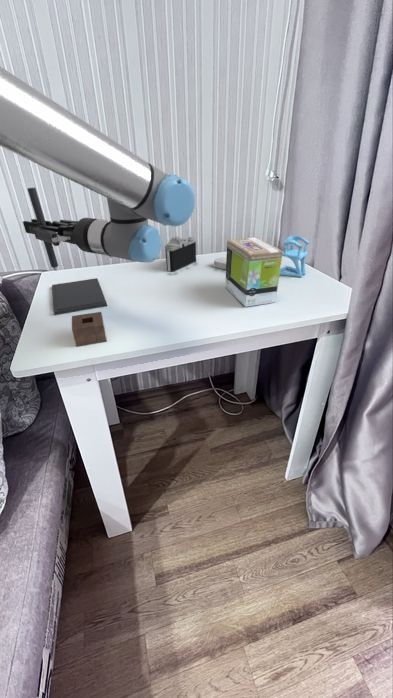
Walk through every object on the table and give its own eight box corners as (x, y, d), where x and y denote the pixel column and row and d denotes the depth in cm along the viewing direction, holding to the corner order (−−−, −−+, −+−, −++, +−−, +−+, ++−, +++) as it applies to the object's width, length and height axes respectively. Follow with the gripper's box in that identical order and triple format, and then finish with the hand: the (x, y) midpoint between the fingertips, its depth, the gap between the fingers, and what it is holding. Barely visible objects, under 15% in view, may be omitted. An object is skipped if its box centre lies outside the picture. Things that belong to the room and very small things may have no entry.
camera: (184, 257, 124) (183, 230, 118) (198, 261, 120) (197, 233, 115) (157, 268, 114) (155, 240, 109) (172, 272, 111) (170, 243, 105)
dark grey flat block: (52, 287, 102) (51, 284, 101) (97, 280, 106) (97, 277, 105) (54, 315, 86) (53, 311, 86) (107, 305, 91) (106, 302, 90)
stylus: (51, 271, 86) (25, 188, 75) (55, 269, 87) (30, 187, 76) (57, 271, 85) (32, 188, 74) (61, 269, 87) (37, 187, 76)
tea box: (277, 302, 91) (284, 250, 82) (244, 308, 88) (248, 254, 80) (253, 283, 103) (257, 235, 94) (224, 287, 100) (225, 238, 92)
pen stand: (76, 346, 74) (71, 329, 71) (76, 332, 79) (71, 315, 76) (106, 341, 75) (103, 324, 73) (104, 327, 81) (101, 311, 78)
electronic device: (220, 236, 113) (257, 242, 105) (220, 263, 119) (255, 271, 111) (210, 239, 110) (248, 246, 102) (211, 267, 115) (247, 275, 107)
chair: (298, 279, 104) (304, 242, 97) (275, 274, 108) (279, 237, 102) (308, 272, 109) (315, 236, 102) (285, 267, 113) (290, 232, 107)
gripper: (77, 263, 70) (8, 248, 79) (122, 244, 80) (56, 233, 90) (68, 227, 65) (-3, 216, 75) (117, 212, 76) (49, 204, 86)
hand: (29, 225), depth 82 cm, fingers closed on stylus, 2 cm apart
